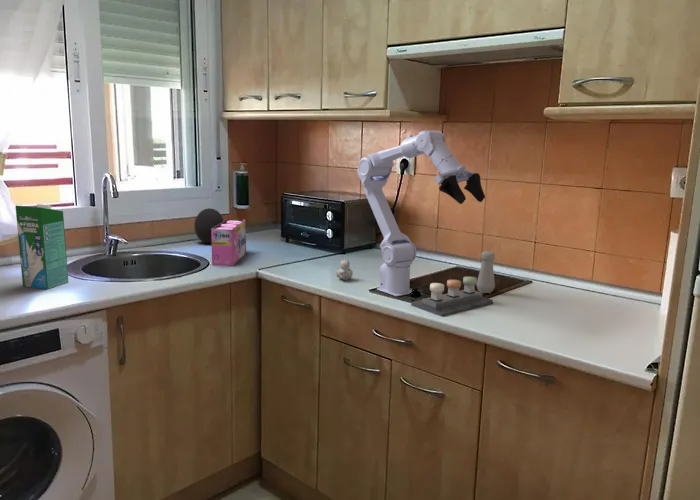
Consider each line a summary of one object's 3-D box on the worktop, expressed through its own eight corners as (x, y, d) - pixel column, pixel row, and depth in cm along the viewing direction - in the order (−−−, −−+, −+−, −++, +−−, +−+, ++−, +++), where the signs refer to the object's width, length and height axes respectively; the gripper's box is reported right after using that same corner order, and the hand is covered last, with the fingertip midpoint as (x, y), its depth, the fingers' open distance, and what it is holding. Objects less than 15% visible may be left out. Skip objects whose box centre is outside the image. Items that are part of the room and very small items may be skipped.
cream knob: (426, 298, 167) (427, 284, 166) (436, 296, 170) (437, 282, 169) (436, 301, 164) (437, 287, 163) (446, 299, 167) (447, 285, 166)
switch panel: (411, 305, 170) (411, 296, 169) (462, 293, 183) (462, 285, 182) (441, 316, 160) (442, 307, 160) (492, 303, 174) (493, 294, 173)
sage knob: (459, 291, 176) (460, 277, 175) (468, 289, 178) (469, 275, 177) (469, 294, 173) (470, 280, 172) (478, 292, 175) (479, 278, 174)
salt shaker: (481, 288, 190) (484, 249, 187) (497, 291, 186) (500, 252, 184) (472, 291, 185) (475, 251, 183) (489, 295, 182) (492, 254, 179)
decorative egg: (206, 239, 258) (205, 205, 254) (230, 242, 253) (229, 207, 250) (188, 244, 246) (187, 209, 243) (213, 247, 242) (212, 211, 239)
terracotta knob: (443, 294, 172) (444, 280, 171) (452, 292, 174) (453, 278, 173) (453, 297, 168) (454, 283, 168) (462, 295, 171) (463, 281, 170)
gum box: (228, 251, 235) (227, 218, 232) (247, 252, 234) (247, 218, 232) (211, 265, 211) (210, 228, 208) (233, 266, 211) (232, 229, 208)
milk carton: (68, 282, 184) (62, 203, 179) (47, 289, 176) (40, 207, 171) (45, 279, 187) (38, 201, 181) (22, 286, 178) (14, 205, 173)
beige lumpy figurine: (354, 278, 199) (355, 255, 197) (349, 283, 192) (350, 259, 191) (339, 276, 200) (339, 254, 198) (333, 281, 194) (334, 258, 192)
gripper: (435, 153, 154) (462, 191, 148) (472, 152, 163) (499, 188, 157) (422, 172, 159) (447, 210, 153) (458, 170, 167) (484, 206, 161)
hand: (473, 200), depth 155 cm, fingers open, 7 cm apart
